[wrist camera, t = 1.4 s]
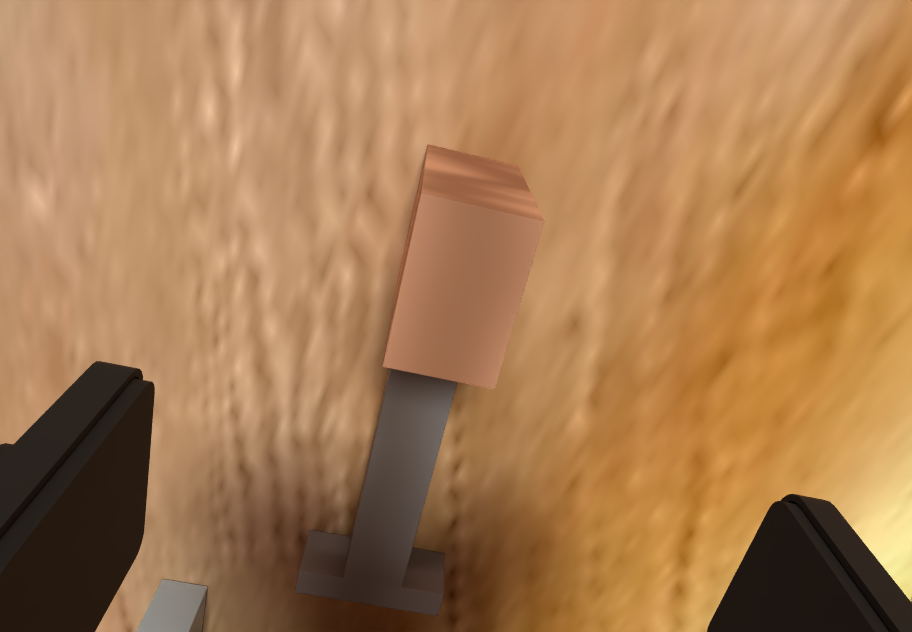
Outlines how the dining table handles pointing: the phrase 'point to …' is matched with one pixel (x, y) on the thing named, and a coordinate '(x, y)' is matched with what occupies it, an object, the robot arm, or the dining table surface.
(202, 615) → the bridge block
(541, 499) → the dining table surface
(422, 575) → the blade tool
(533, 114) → the dining table surface
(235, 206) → the dining table surface
